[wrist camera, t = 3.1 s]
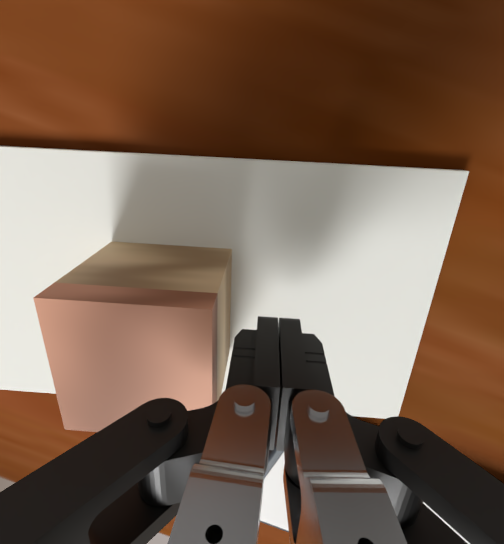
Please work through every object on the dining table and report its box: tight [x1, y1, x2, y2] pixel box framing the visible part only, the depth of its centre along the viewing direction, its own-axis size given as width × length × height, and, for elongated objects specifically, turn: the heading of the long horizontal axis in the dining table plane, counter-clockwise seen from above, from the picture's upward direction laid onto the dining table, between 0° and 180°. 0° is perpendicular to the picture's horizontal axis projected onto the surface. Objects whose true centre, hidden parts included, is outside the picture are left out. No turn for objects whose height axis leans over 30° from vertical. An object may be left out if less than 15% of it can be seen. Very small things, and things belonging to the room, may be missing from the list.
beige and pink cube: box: [33, 242, 232, 432], centre depth 13 cm, size 5×5×5 cm
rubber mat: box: [0, 146, 469, 419], centre depth 15 cm, size 25×12×1 cm, turn 87°
